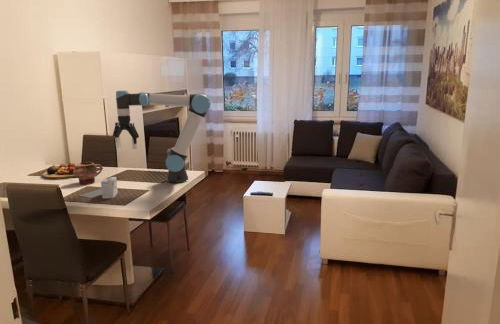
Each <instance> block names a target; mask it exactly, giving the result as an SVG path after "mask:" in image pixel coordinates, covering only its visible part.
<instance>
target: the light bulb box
mask: <svg viewBox="0 0 500 324" xmlns="http://www.w3.org/2000/svg"><path fill="white" fill-rule="evenodd" d="M100 185H101V186H100V187H101V188H102V195H101V197H102V199H114V198H115V197H116V196H117V194H118V193H119V192H118V182H117V176H108V177H104V179H102V180H101V181H100ZM101 188H100V189H101Z"/></svg>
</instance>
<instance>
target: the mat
mask: <svg viewBox="0 0 500 324" xmlns="http://www.w3.org/2000/svg"><path fill="white" fill-rule="evenodd" d="M81 196H82V198H88V199H94V198H96V197H99V196H102V188H98V189H95V190H93V191H89V192H86V193H83V194H81V195H78V197H81Z"/></svg>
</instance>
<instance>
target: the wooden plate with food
mask: <svg viewBox="0 0 500 324" xmlns="http://www.w3.org/2000/svg"><path fill="white" fill-rule="evenodd" d="M75 166H76V164H75V163H71V162H70V163H68V164H65V163H61V164H59V166H58V165H56V164H53V165H50V166H49V167H48V168H47V169H46V172H43V173H42V174H41V175H42V178H44V179H47V180H49V179H50V180H63V179H70V178H71V179H72V178H73V179H74V178H78V177H77V176H75V175H74V174H73V171H74V169H75Z"/></svg>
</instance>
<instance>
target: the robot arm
mask: <svg viewBox="0 0 500 324" xmlns="http://www.w3.org/2000/svg"><path fill="white" fill-rule="evenodd" d="M115 101H116V102H115V103H116V109H117V110H116V113H117V122H115V123H114V129H113V133H112V137H114V138H115V144H116V148H118V149H119V148H121V147H122V146H121V144H122V143H121V137H120V135H121V134H122V132H123V131H126V132H128V133H129V135H130V137H131V138H132V139H131V144H132V150H135V149H137V148H138V147H137V143H138V141H137V139H138V138H139V137H140V136H139V134H138V131H137V129H136V127H135V122H131V116H130V114H131V111H130V107H131V106H148V105H152V106H169V107H170V106H171V107H185V108H188V110H187V112H188V116H187V118H186V120H185V121H184V122H185V123H184V124H183V127H182V129H181V131H180V133H179V136H178V138H177V141H176V143H175V145H174V146H173V147H171V148H168V149H167V152H166V153H167V158H166V159H165V166H166V169H167V170H168V171H167V175H166V182H167V183H169V182H170V183H169V184H179V183H178V182H182V183H184V182H183V181H186V180H188V181H189V175H188V173H187V171H186V160H187V158H188V155H189V154H188V150H189V148H190V146H191V144H192V141H193V139H194V137H195V135H196V132H197V129H198V127H199V125H200V123H201V121H202V119H205V118H206V116H207V113H208V111H209V109H210V108H211V99H210V98H209V96H208V95H206V94H204V93H194V94H193V93H192V94H191V93H189V94H188V95H187V94H170V93H169V94H168V93H151V92H150V93H148V92H143V91H142V92H139V93H137V92H136V93H129V91H128V90H116V92H115ZM186 182H187V181H186Z"/></svg>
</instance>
